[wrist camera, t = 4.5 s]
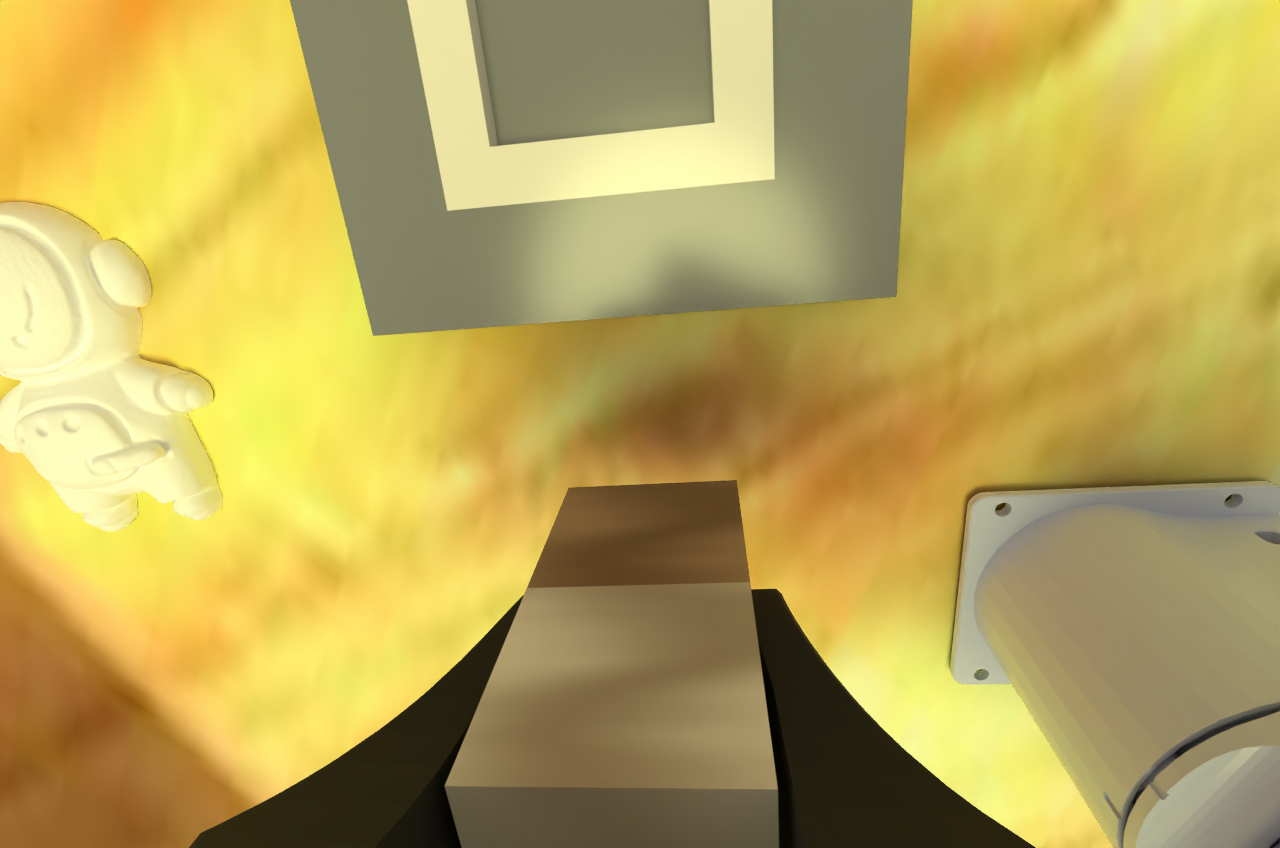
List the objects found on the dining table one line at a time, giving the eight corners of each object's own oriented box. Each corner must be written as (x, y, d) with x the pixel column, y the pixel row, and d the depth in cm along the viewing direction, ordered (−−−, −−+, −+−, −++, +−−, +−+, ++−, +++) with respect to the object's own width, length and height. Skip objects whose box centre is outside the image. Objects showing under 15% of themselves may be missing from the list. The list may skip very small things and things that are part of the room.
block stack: (736, 480, 15) (777, 789, 7) (742, 620, 16) (781, 1000, 9) (569, 487, 15) (444, 786, 8) (588, 623, 16) (500, 987, 9)
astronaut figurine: (72, 521, 26) (-4, 563, 23) (-81, 215, 21) (-199, 221, 19) (268, 508, 25) (212, 551, 22) (147, 184, 20) (59, 185, 18)
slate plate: (920, -458, 13) (956, -559, 12) (884, 289, 19) (904, 302, 17) (237, -319, 15) (173, -388, 13) (390, 327, 21) (360, 341, 19)
